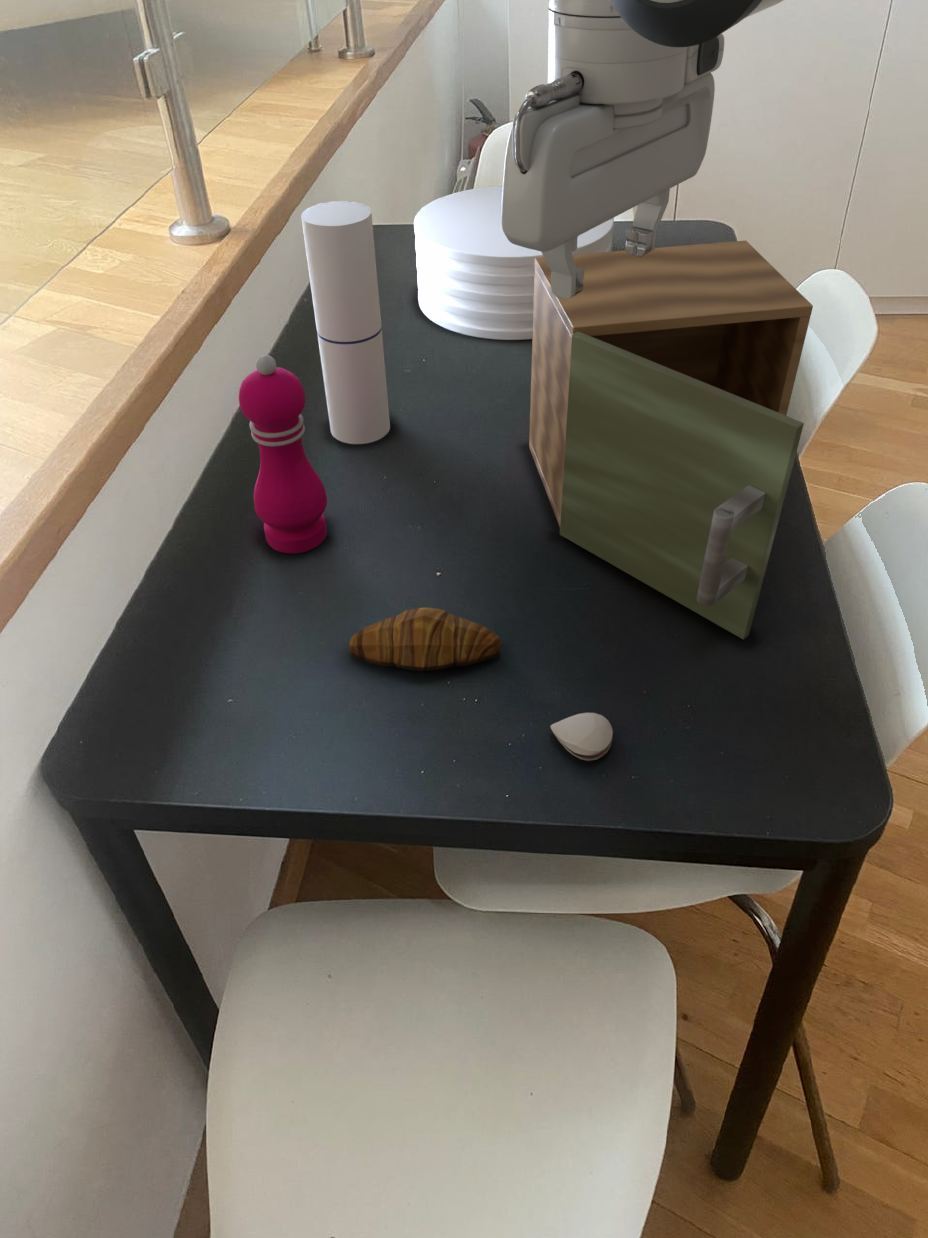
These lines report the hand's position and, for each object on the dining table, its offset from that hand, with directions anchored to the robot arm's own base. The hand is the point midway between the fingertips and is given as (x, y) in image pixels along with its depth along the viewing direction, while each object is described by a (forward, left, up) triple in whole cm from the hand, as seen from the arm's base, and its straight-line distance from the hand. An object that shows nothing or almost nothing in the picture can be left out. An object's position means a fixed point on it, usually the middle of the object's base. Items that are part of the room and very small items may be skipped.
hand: (604, 272), depth 68 cm
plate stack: (-6, -66, -30) cm, 72 cm away
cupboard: (-11, -17, -30) cm, 36 cm away
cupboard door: (-4, +3, -30) cm, 30 cm away
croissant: (+16, +7, -30) cm, 35 cm away
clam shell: (+5, +19, -30) cm, 36 cm away
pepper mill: (+27, -13, -30) cm, 42 cm away
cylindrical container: (+19, -33, -30) cm, 48 cm away
